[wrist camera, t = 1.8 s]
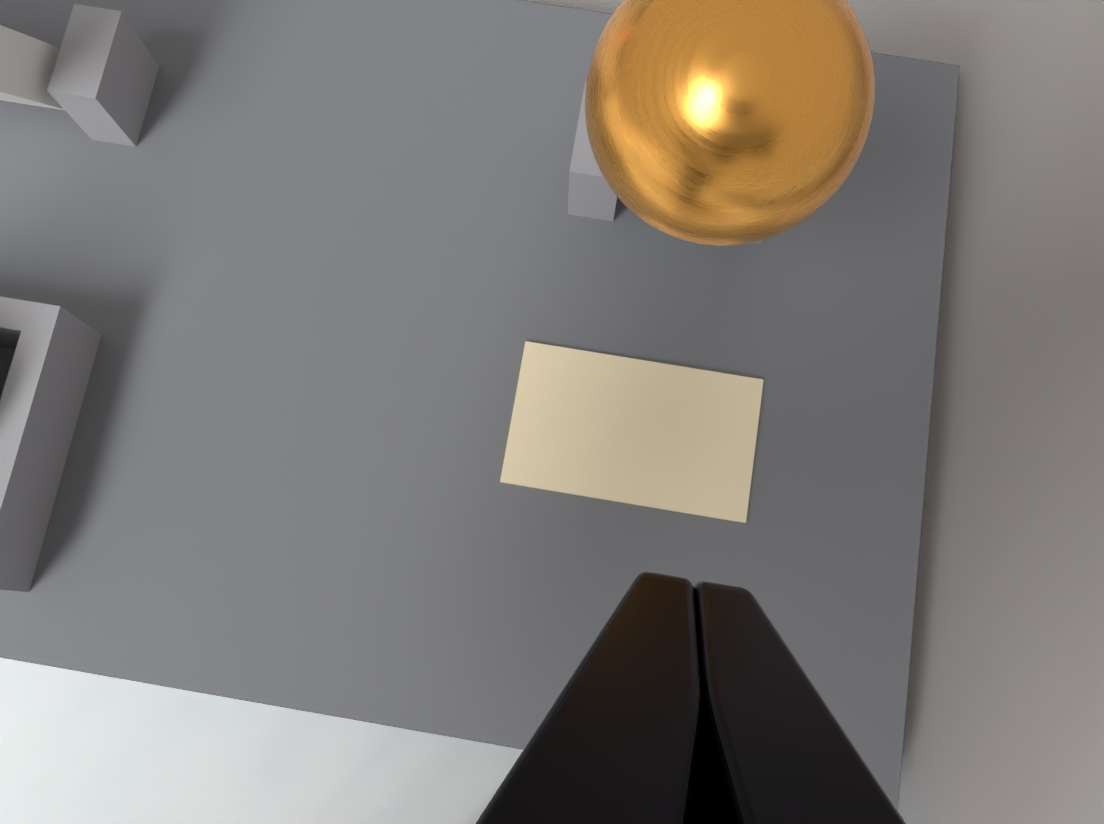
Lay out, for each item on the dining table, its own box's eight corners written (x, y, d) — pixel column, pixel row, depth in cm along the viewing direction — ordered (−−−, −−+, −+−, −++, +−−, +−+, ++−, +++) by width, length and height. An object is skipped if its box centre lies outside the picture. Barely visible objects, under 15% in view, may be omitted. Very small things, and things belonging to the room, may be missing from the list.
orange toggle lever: (735, 263, 21) (874, 266, 10) (585, 240, 21) (556, 217, 10) (764, 108, 20) (945, -74, 9) (610, 85, 21) (608, -122, 9)
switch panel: (871, 802, 20) (937, 835, 17) (-362, 585, 21) (-538, 575, 18) (934, 101, 24) (999, 10, 20) (-124, -58, 25) (-232, -171, 21)
